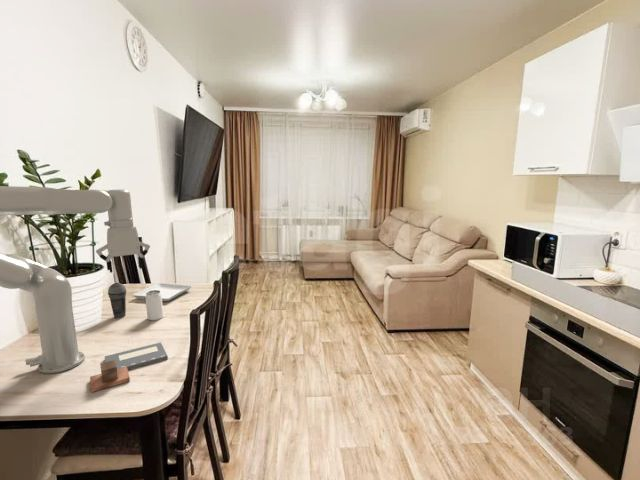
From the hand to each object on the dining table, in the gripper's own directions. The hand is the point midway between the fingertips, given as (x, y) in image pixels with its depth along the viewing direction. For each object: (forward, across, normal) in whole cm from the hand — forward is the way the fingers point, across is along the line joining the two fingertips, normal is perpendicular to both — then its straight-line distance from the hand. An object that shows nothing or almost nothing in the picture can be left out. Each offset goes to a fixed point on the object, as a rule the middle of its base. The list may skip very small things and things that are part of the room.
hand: (126, 269), depth 128 cm
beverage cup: (+28, -2, +30) cm, 41 cm away
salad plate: (+29, +20, +49) cm, 60 cm away
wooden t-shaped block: (+28, -10, -26) cm, 40 cm away
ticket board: (+28, -1, -16) cm, 33 cm away
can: (+28, +11, +19) cm, 36 cm away
